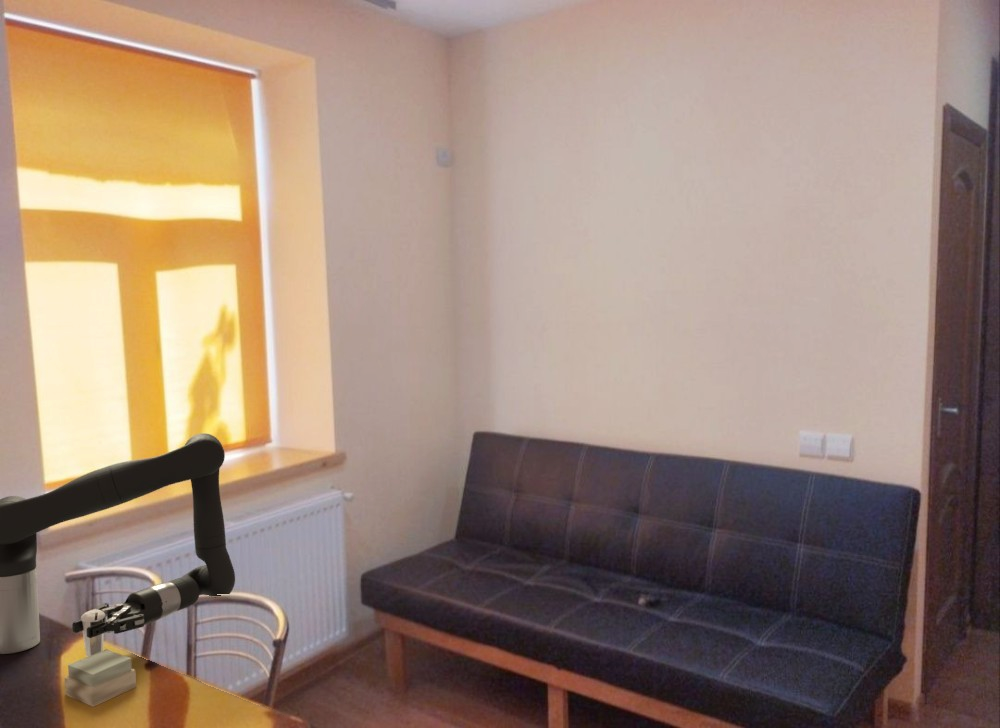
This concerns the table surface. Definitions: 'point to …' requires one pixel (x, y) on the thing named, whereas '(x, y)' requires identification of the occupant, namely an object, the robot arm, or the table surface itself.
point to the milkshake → (96, 642)
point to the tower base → (100, 689)
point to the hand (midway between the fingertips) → (80, 630)
